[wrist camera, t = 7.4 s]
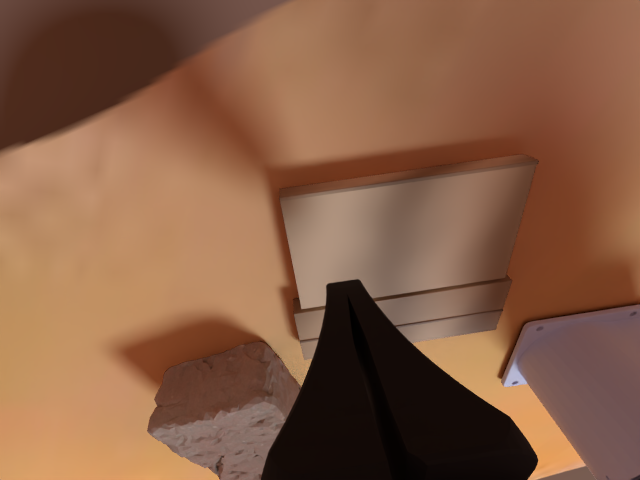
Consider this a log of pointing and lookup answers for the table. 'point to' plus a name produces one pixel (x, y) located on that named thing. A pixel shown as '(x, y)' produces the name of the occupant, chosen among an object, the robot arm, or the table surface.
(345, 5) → the table surface
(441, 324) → the laid board
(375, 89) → the table surface
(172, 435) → the brick
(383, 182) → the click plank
